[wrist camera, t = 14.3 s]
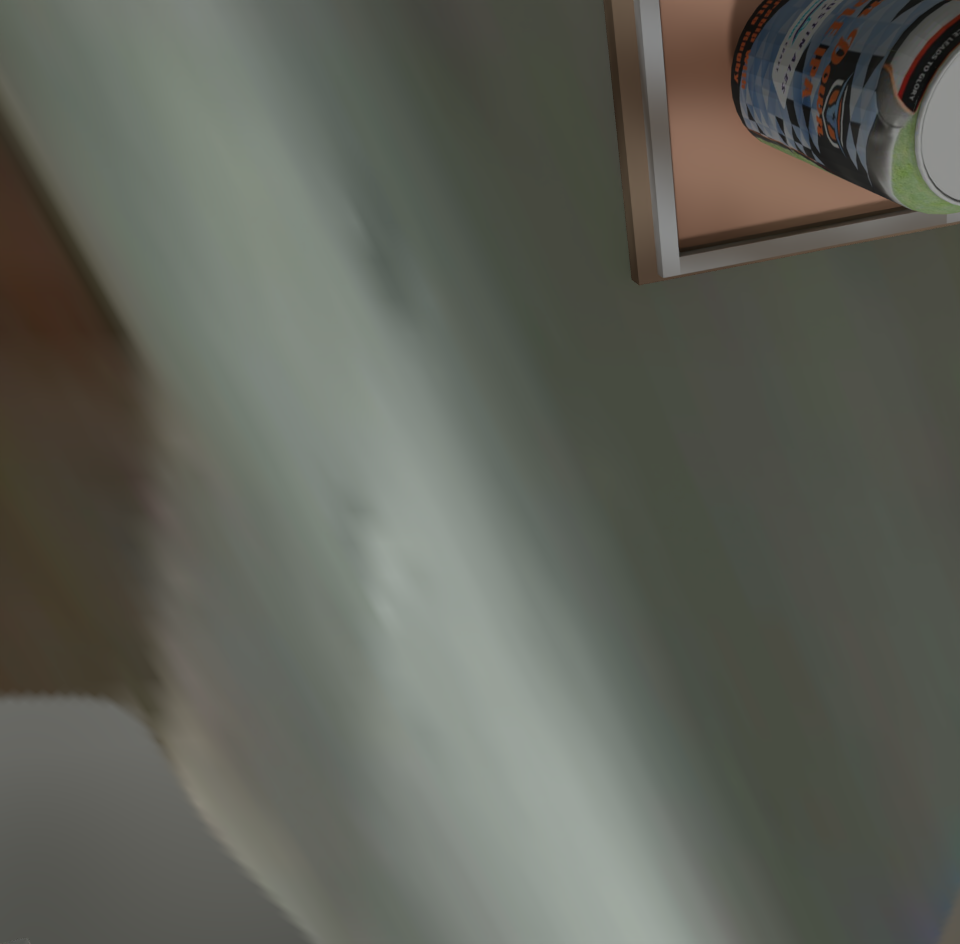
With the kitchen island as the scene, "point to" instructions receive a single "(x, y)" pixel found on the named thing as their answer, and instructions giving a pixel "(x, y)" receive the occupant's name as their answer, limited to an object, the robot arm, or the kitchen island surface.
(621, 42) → the framed panel board
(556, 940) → the kitchen island surface
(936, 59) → the beverage can
